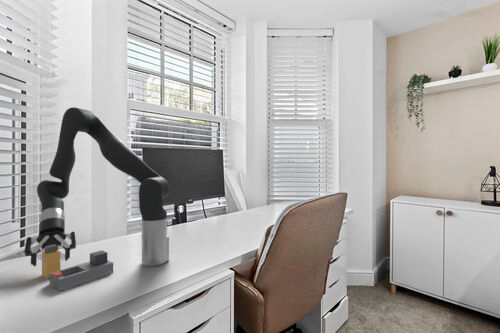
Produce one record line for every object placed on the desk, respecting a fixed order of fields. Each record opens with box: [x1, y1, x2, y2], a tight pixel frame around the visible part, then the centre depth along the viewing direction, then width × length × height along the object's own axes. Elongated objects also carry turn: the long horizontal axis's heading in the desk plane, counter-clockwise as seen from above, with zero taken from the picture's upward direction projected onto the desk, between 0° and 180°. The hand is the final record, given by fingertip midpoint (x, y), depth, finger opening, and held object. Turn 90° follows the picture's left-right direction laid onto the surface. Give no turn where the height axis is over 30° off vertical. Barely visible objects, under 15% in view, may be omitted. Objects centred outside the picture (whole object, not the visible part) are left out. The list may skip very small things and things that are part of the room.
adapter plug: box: [41, 244, 61, 279], centre depth 88 cm, size 4×4×10 cm
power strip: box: [49, 250, 114, 292], centre depth 85 cm, size 16×8×7 cm, turn 146°
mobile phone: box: [37, 251, 65, 261], centre depth 104 cm, size 8×1×15 cm
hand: (51, 262), depth 86 cm, fingers open, 8 cm apart
